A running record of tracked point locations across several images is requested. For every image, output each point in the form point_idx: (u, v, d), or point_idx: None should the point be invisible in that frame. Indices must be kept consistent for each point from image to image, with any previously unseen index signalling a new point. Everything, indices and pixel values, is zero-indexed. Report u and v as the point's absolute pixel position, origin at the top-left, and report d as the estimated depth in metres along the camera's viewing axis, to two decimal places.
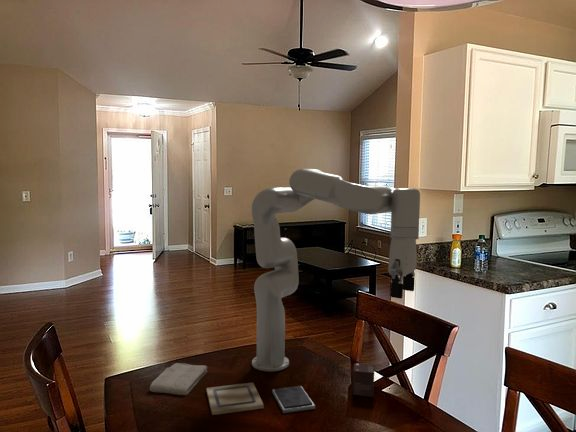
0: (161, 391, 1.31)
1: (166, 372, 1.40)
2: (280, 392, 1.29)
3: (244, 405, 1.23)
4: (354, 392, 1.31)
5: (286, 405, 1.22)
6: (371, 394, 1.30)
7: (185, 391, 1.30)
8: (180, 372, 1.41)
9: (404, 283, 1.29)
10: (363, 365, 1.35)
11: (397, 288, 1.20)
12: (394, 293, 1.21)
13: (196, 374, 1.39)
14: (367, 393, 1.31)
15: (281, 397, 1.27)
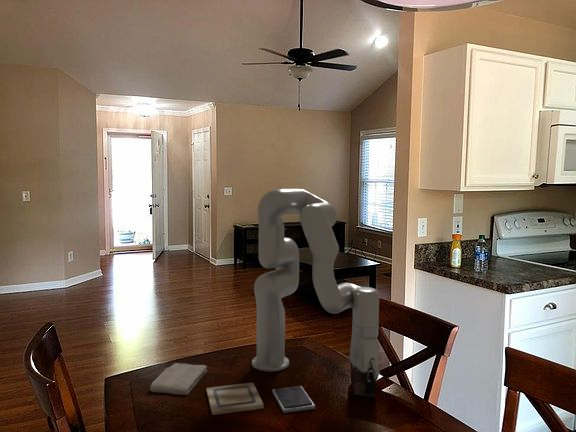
0: (161, 391, 1.31)
1: (166, 372, 1.40)
2: (280, 392, 1.29)
3: (244, 405, 1.23)
4: (354, 392, 1.31)
5: (286, 405, 1.22)
6: (371, 394, 1.30)
7: (186, 391, 1.30)
8: (180, 372, 1.41)
9: None
10: None
11: (373, 385, 1.29)
12: (371, 391, 1.29)
13: (196, 374, 1.39)
14: None
15: (281, 397, 1.27)
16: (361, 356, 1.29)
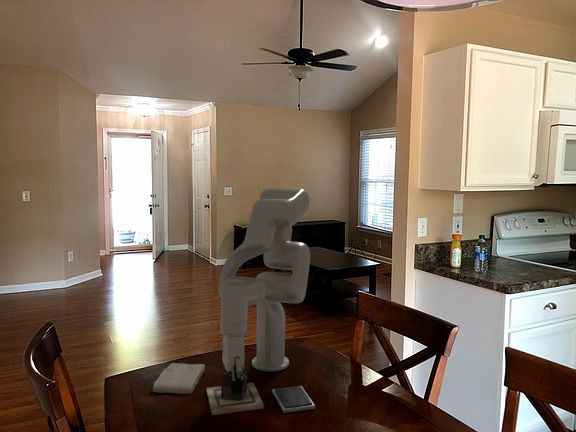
0: (165, 391, 1.31)
1: (165, 372, 1.40)
2: (280, 392, 1.29)
3: (244, 405, 1.23)
4: (222, 396, 1.26)
5: (286, 405, 1.22)
6: (239, 398, 1.25)
7: (190, 390, 1.31)
8: (179, 372, 1.41)
9: None
10: None
11: (239, 385, 1.22)
12: (236, 390, 1.22)
13: (196, 373, 1.40)
14: (235, 397, 1.25)
15: (281, 397, 1.27)
16: (226, 354, 1.23)
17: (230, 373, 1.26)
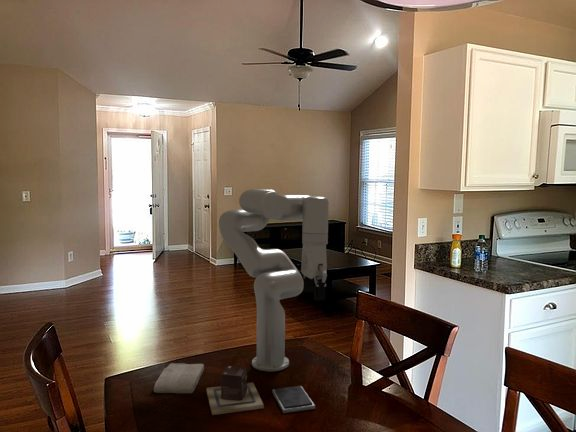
0: (166, 391, 1.31)
1: (165, 373, 1.40)
2: (280, 392, 1.29)
3: (244, 405, 1.23)
4: (222, 396, 1.26)
5: (286, 405, 1.22)
6: (239, 398, 1.25)
7: (191, 389, 1.31)
8: (179, 372, 1.41)
9: (305, 285, 1.37)
10: (235, 368, 1.29)
11: (322, 291, 1.28)
12: (320, 296, 1.28)
13: (196, 372, 1.40)
14: (235, 397, 1.25)
15: (281, 397, 1.27)
16: (309, 262, 1.29)
17: (230, 373, 1.26)
